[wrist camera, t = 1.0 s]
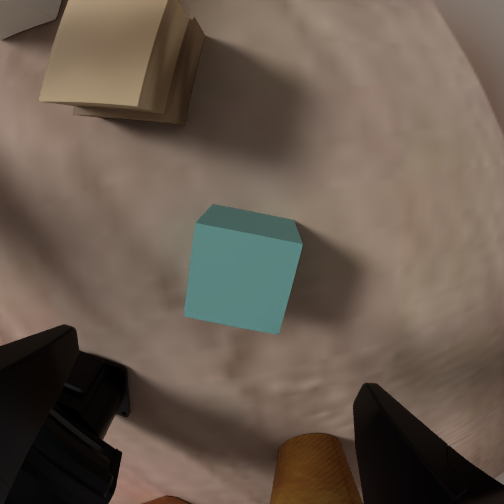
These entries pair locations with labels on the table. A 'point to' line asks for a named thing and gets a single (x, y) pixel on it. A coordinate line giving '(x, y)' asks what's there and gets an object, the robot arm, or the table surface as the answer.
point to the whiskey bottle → (167, 501)
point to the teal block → (242, 268)
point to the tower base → (178, 88)
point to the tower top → (115, 54)
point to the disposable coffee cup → (313, 472)
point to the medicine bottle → (25, 15)
